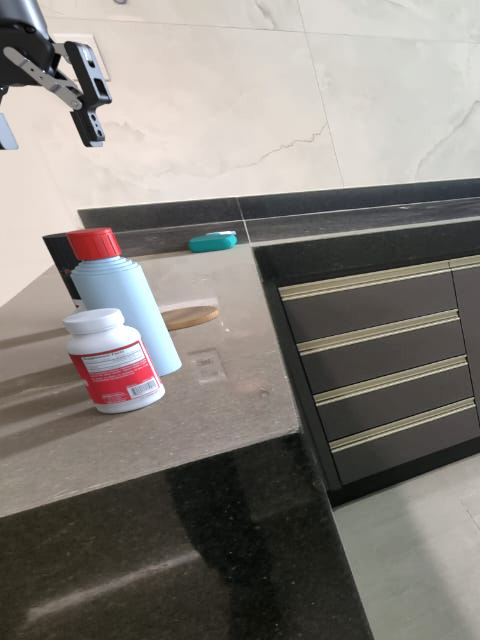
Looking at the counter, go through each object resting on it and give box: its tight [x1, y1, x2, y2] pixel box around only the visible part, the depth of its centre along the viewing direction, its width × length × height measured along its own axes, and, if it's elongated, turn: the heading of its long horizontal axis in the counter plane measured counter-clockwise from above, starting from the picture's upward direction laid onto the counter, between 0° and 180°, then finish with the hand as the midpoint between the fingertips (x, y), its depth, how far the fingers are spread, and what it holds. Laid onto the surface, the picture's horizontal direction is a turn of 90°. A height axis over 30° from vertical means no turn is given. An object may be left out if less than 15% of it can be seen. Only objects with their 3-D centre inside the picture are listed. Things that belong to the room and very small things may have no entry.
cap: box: [66, 227, 122, 260], centre depth 64 cm, size 4×4×3 cm
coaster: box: [160, 305, 220, 331], centre depth 90 cm, size 10×10×1 cm
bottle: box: [70, 255, 183, 378], centre depth 67 cm, size 6×6×18 cm
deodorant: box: [41, 231, 82, 309], centre depth 88 cm, size 6×6×15 cm
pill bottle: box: [62, 308, 166, 414], centre depth 60 cm, size 6×6×11 cm
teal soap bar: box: [187, 230, 238, 254], centre depth 155 cm, size 3×11×25 cm
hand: (52, 148), depth 60 cm, fingers open, 7 cm apart
